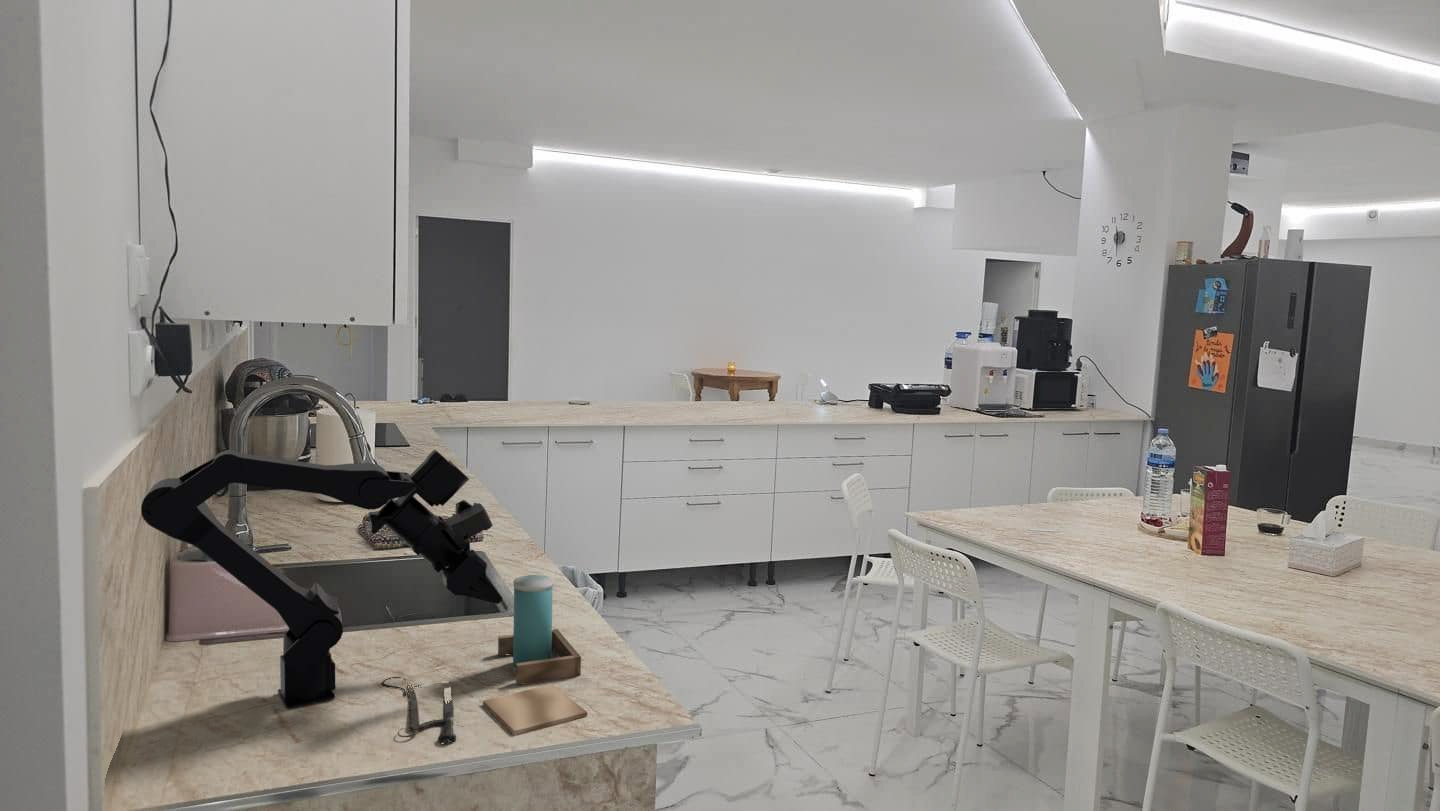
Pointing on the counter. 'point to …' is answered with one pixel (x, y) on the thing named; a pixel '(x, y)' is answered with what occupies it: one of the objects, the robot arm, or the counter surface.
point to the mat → (534, 709)
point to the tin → (532, 618)
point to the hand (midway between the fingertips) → (493, 592)
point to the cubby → (545, 661)
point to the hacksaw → (414, 721)
